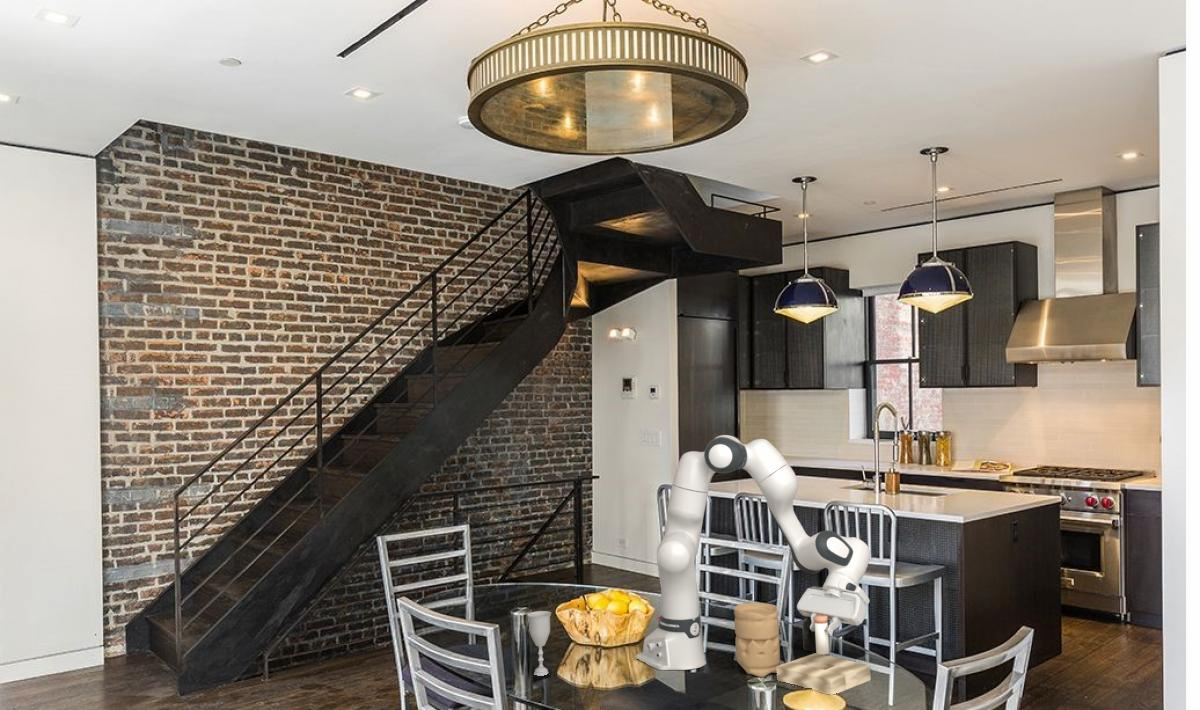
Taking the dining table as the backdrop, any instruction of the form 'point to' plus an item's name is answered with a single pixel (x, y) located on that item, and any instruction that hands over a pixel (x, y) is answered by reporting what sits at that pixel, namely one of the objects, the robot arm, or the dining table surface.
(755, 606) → the container
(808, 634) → the supplement bottle
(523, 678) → the dining table surface
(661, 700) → the dining table surface
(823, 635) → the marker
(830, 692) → the socket block
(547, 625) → the chalice
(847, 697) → the dining table surface
